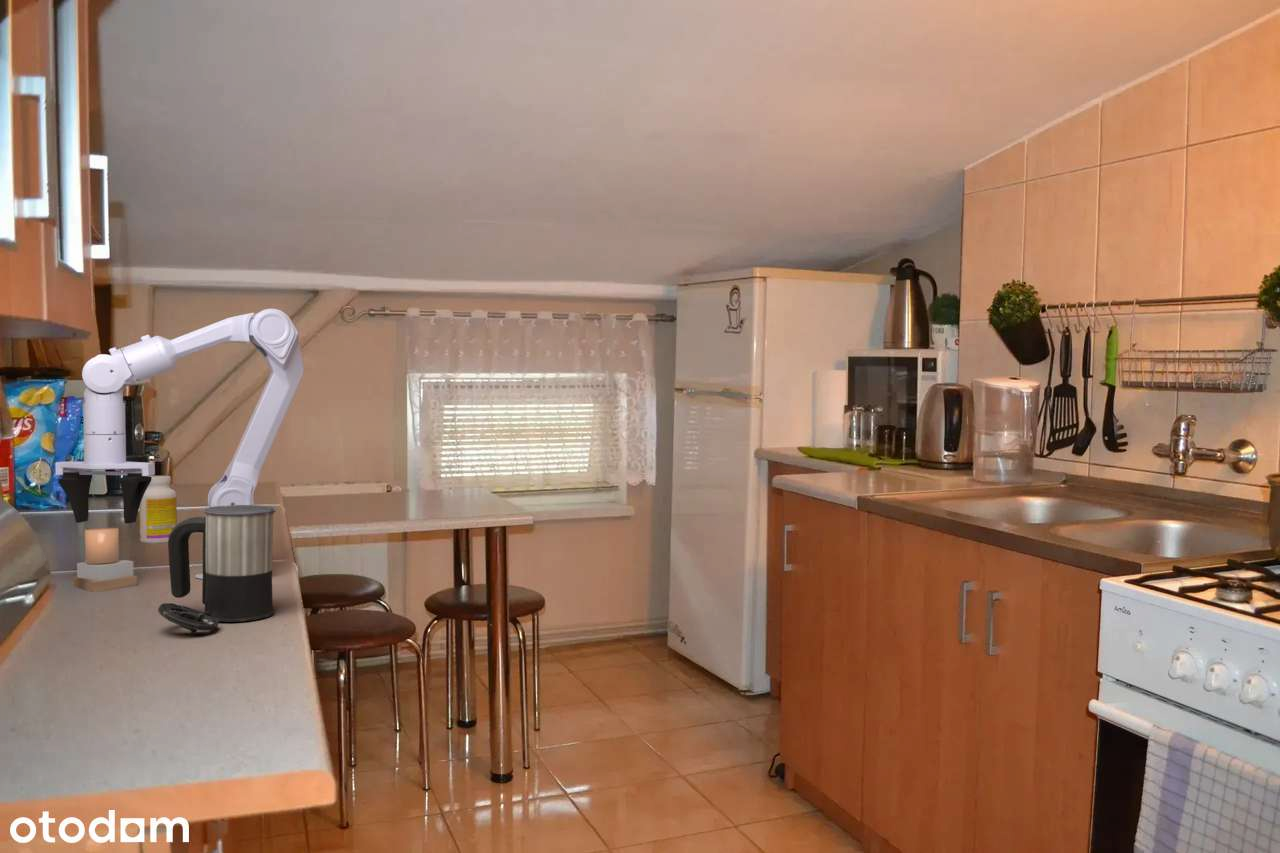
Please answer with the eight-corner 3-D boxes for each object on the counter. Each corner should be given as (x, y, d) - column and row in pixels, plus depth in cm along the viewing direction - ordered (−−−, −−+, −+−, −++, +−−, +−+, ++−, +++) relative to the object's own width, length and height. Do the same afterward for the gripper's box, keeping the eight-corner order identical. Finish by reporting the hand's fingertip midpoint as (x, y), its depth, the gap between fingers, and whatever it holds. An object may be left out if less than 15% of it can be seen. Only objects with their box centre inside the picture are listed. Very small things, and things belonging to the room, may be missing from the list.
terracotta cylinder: (125, 560, 159) (124, 528, 159) (95, 564, 155) (94, 531, 155) (109, 558, 162) (108, 527, 162) (79, 562, 158) (78, 530, 158)
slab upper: (133, 575, 160) (133, 561, 160) (100, 581, 155) (100, 566, 155) (110, 571, 162) (110, 558, 162) (77, 577, 157) (77, 563, 157)
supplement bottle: (184, 541, 203) (183, 476, 202) (152, 545, 197) (152, 478, 196) (163, 538, 206) (163, 474, 206) (132, 542, 201) (131, 476, 200)
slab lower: (137, 590, 159) (137, 576, 159) (94, 596, 154) (94, 582, 154) (116, 584, 163) (116, 571, 163) (73, 591, 158) (73, 576, 158)
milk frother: (275, 606, 146) (275, 503, 146) (277, 632, 132) (277, 517, 131) (166, 613, 141) (165, 506, 141) (155, 640, 127) (154, 521, 126)
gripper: (164, 433, 161) (165, 519, 162) (74, 432, 162) (75, 517, 162) (140, 435, 154) (141, 525, 155) (46, 434, 155) (47, 524, 155)
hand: (106, 522), depth 158 cm, fingers open, 7 cm apart
